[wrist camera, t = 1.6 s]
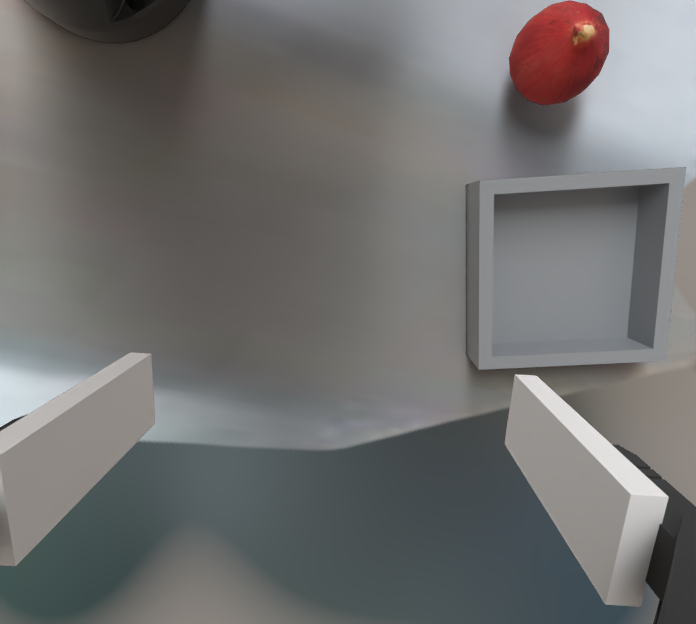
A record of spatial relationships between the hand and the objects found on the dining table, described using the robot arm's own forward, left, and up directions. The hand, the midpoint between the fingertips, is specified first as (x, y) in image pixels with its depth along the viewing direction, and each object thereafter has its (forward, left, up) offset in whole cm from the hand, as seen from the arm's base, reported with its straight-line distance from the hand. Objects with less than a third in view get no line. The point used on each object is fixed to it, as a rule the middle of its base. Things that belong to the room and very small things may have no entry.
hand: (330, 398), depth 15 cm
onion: (-20, +8, -21) cm, 31 cm away
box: (-7, +15, -21) cm, 27 cm away
